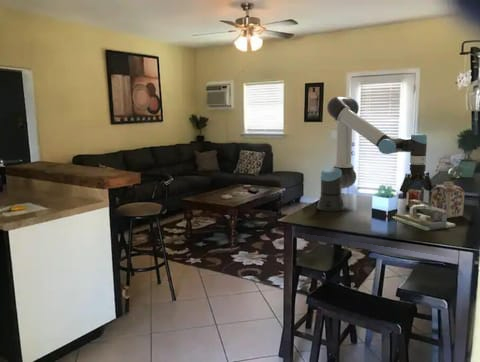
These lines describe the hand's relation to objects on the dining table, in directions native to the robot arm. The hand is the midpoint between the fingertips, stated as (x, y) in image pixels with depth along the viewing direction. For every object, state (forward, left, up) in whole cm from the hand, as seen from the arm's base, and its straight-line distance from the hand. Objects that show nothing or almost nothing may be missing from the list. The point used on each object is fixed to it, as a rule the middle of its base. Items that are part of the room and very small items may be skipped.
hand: (415, 203), depth 205 cm
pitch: (+10, -5, -7) cm, 14 cm away
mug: (-15, +13, -8) cm, 21 cm away
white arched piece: (+8, -3, -6) cm, 10 cm away
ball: (+12, -7, -5) cm, 15 cm away
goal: (+18, -7, -7) cm, 21 cm away
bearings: (+15, 0, -7) cm, 17 cm away
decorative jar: (+3, +19, -8) cm, 20 cm away
